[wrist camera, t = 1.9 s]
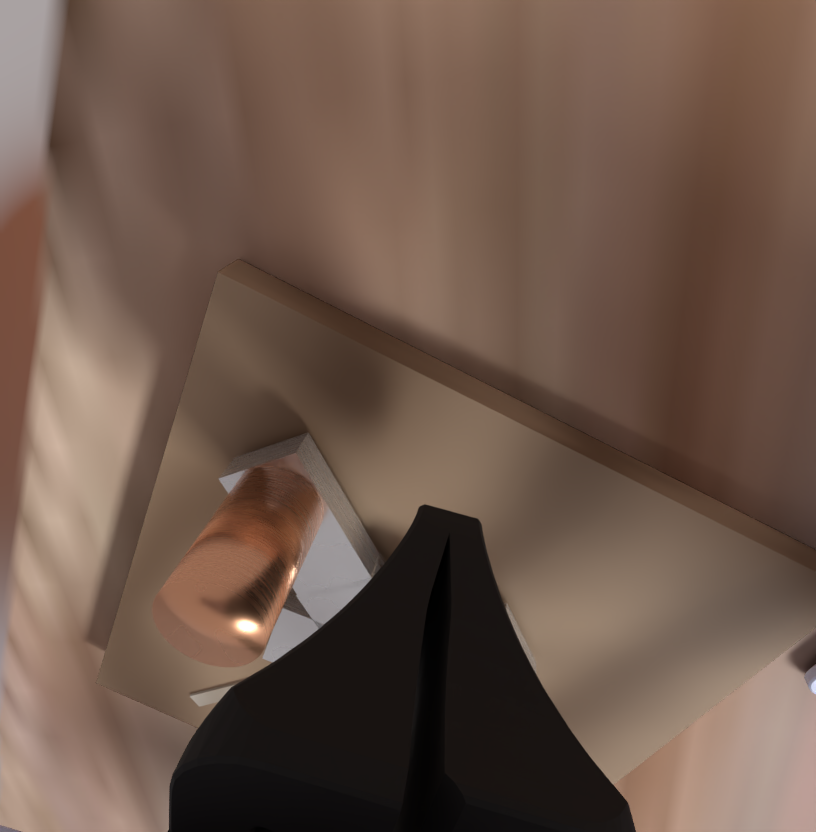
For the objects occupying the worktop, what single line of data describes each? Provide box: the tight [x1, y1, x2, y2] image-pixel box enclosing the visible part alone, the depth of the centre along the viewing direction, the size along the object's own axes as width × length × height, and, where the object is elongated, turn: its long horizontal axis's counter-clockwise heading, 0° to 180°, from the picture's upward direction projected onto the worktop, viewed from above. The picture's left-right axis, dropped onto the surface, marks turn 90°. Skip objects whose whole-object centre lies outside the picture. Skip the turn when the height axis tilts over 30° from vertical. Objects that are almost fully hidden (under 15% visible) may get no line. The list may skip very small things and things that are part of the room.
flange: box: [152, 433, 536, 673], centre depth 16 cm, size 12×8×5 cm, turn 25°
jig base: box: [96, 259, 816, 785], centre depth 18 cm, size 18×18×6 cm
